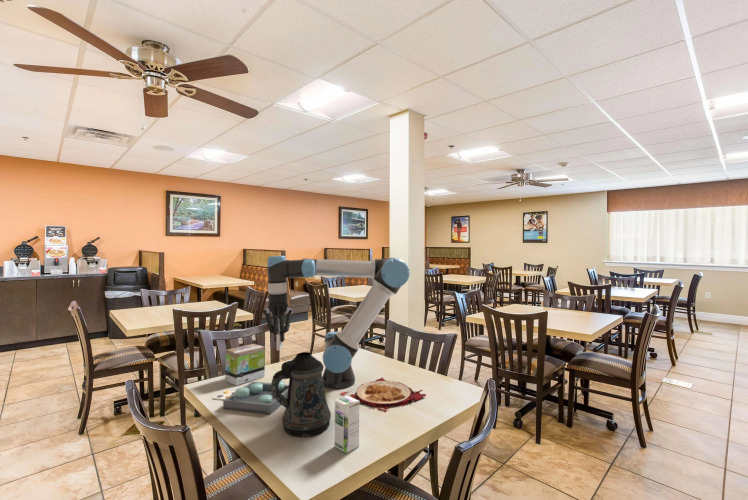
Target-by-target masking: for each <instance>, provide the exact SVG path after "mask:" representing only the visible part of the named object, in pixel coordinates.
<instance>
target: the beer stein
mask: <svg viewBox="0 0 748 500" xmlns="http://www.w3.org/2000/svg"><path fill="white" fill-rule="evenodd" d="M324 366H325V365H324V363H323V362H322V361H320V360H319V359H318V358H316V357H314V356H313V355H312V353H311V352H308V351H303V352H299V353H297V354H296V356H295V357H294V358H293V359H291V360H287V361H285V362H283V363H282V365H281V367H280V368H281V369H280V370H279V371H277V372H275V373H274V374H273V375H272V378H271V379H272V380H271V382H270V383H271V390H272V393H273V395H274V397H275V398H276V400H277V401H278V402H279V403H280V404H281V406H282V407H284V408H285V410H284V413H283V416H282V419H281V420H282V421H281V422H282V425H283V430H284V432H285V433H286V434H287V435H290V436H291V437H295V438H310V437H311V438H312V437H315V436H318V435H320V434H323V433H324V432H326V430H329V427H330V423H331V417H332V416H331V414H332V413H331V411H330V408H329V405H328V401H327V399H326V392H325V391H326V390H325V386H324V385H323V379H322V376H323V372H324V368H325V367H324ZM283 380H288V385H289V386H288V395H287V399H286V398H285V397H284V396H283V395H282V394H281V392H280V390H279V388H278V385H279V383H280V381H283Z"/></svg>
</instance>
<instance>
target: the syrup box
mask: <svg viewBox="0 0 748 500" xmlns="http://www.w3.org/2000/svg"><path fill="white" fill-rule="evenodd" d="M359 403H360V402H359V400H356V399H354V398H352V397H350V396H349V395H345V396H342V397H339V398H337V399H334V442H333V443H334V444H333V445H334V448H336V449H338V450H340V451H341V452H343V453H344V454H347V453H350V452H352V451H353V450H355V449H357V448H359V447H360V404H361V403H360V404H359Z"/></svg>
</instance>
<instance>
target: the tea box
mask: <svg viewBox="0 0 748 500" xmlns="http://www.w3.org/2000/svg"><path fill="white" fill-rule="evenodd" d="M265 362H266V347H265V346H263V345H259V344H256V343H251V344H247V345H243V346H242V345H241V346H238V347H233V348H229V349H226V350H225V366H224V367H225V368H224V369H225V371H224V372H225V374H224V378H225V379H224V381H225V382H226V383H229V384H231V385H234V386H236V387H237V386H239V385H242V384H246V383H248V382H253V381H255V380H258V379H262V378H265V376H266V375H265V374H266V373H265V371H266V363H265Z"/></svg>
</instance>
